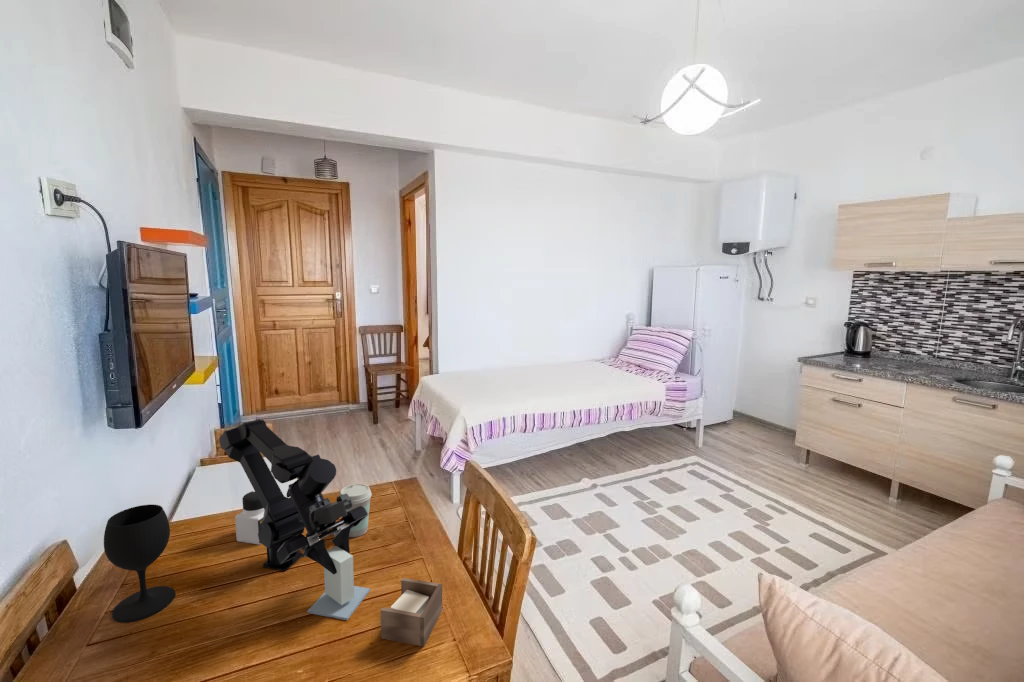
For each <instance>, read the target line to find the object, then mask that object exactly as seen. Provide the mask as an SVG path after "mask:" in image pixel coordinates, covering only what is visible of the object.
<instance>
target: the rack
mask: <svg viewBox="0 0 1024 682" xmlns="http://www.w3.org/2000/svg"><path fill="white" fill-rule="evenodd" d="M400 587H401V590H400V591H401V594H400V595H402V594H403V593H404V592H405V591H406V590H410V591H413V592H416V593H419V594H422V595H425V596H428V597H429V602H428V604H427V605H426V607H425V609H424V611H423V613H422V614H419V613H413V612H407V611H402V610H396V609H391V608H390V607H382V608H381V609H380V637H381V639H383V640H388V641H393V642H398V643H403V644H409V645H415V646H419V647H425V646H426V644H427V642H428V640H429V638H430V636H431V634H432V632H433V630H434V627H435V626H436V624H437V622H438V620H439V618H440V616H441V614H442V612H443V584H442V583H436V582H432V581H425V580H418V579H413V578H406V577H402V578H401V579H400Z"/></svg>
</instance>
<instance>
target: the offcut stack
mask: <svg viewBox="0 0 1024 682" xmlns="http://www.w3.org/2000/svg"><path fill="white" fill-rule="evenodd" d="M400 595H401V594H400ZM428 602H429V597H428V596H425V595H422V594H419V593H416V592H413V591H410V590H406V591H405V592H404V593H403V594H402V595H401V596H400V597H398V598H397V600H396V601H395V602H394V603H393V604H392V605H391V606H390V607H389V608H391V609H396V610H402V611H407V612H413V613H419V614H422V613H423V611H424V609H425V607H426V605H427V604H428Z"/></svg>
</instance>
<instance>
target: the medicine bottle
mask: <svg viewBox="0 0 1024 682" xmlns="http://www.w3.org/2000/svg"><path fill="white" fill-rule="evenodd" d="M241 501H242V511H241V512H239V513H238V514H235V516H234V522H235V534H236V535H235V536H236V538H235V539H236V542H240V543H246V544H253V545H262V544H261V543H260V542H259V537H258V533H259V531H260V530H261V529H262V528H263V523H262V522H263V516H264V511H265V510H264V508H263V506H262V504H261V502H260V500H259V498H258V496H257V494H256V492H255V490H252V491H249V492H247V493H246V494H244V495H243V496H242V500H241Z"/></svg>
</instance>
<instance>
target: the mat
mask: <svg viewBox="0 0 1024 682" xmlns="http://www.w3.org/2000/svg"><path fill="white" fill-rule="evenodd" d="M370 591H371V589H370V587H365V586H364V587H362V586H358V585H354V598H352V599H351V600H349V601H348V602H346V603H344V604H343V605H341V604H339V603H338V602H336V601H335V600H334V599H332V598H331V597H329V596H328V595H327V594H325V591H324V592H323V593H322V594H321V596H320V597H319V598H318V599H317V600H316V601H315V602H314V603H313V604H312V605H311V606H310V608H308V610H307V613H308V614H312V615H316V616H323V617H328V618H332V617H333V618H332V619H338V620H344V621H348V620H349V619H350V617H351V616H352V615H353V613H355V611H356V610H357V609H358V607H359V606H360V604H361V603H362V602H363V600H364V599H365V598H366V597H367V595H368V594H369V592H370Z"/></svg>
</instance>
